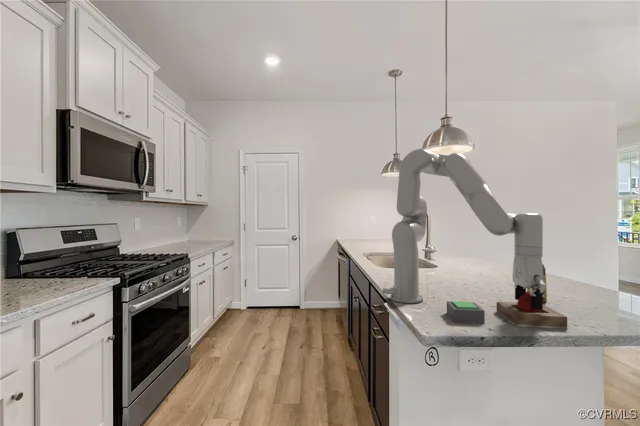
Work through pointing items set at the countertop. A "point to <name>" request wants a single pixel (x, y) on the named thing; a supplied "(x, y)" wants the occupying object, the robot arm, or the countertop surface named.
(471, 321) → the button housing
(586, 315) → the countertop surface
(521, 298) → the onion
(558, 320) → the open box
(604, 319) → the countertop surface
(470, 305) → the button
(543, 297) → the sauce bottle
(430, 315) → the countertop surface
